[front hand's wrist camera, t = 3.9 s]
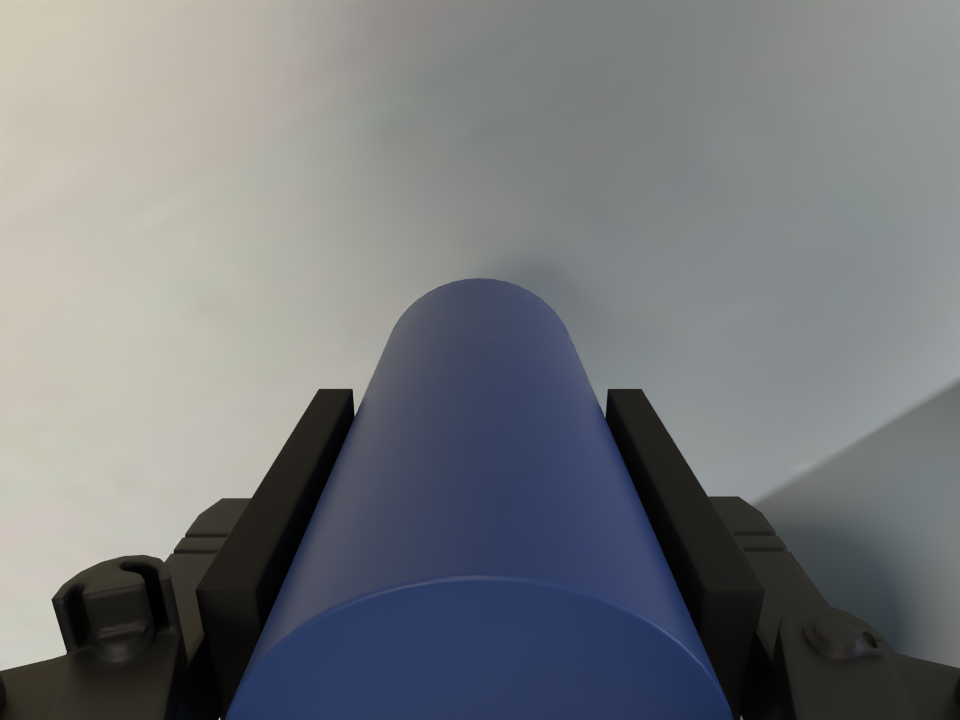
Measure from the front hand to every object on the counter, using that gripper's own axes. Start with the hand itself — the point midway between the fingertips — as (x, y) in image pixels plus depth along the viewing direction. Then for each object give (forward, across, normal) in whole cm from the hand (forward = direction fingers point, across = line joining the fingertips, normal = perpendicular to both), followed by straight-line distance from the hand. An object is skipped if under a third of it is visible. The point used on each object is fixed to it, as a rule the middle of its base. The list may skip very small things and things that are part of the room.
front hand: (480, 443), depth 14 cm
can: (+5, 0, 0) cm, 5 cm away
